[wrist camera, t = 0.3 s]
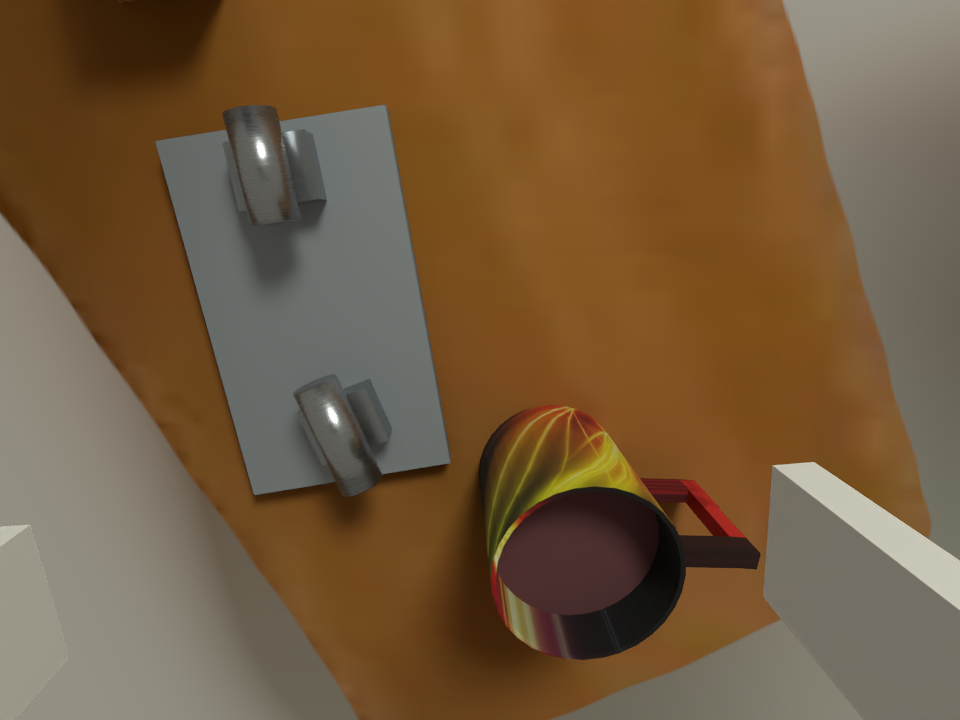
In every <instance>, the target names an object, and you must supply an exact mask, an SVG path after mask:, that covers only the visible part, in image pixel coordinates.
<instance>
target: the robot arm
mask: <svg viewBox="0 0 960 720" xmlns="http://www.w3.org/2000/svg"><path fill="white" fill-rule="evenodd" d="M763 597H764V599H765V600H766V601H767V602H768V604H769V605H770V606H771V607H772V608H773V610H774V611H775V612H776V613H777V615H778V616H779V617H780V618H781V619H782V621H783V622H784V623H785V624H786V626H787V627H788V628H789V629H790V630H791V632H792V633H793V634H794V635H795V637H796V638H797V639H798V640H799V641H800V643H801V644H802V645H803V646H804V648H805V649H806V650H807V651H808V652H809V654H810V655H811V656H812V657H813V658H814V660H815V661H816V662H817V663H818V664H819V666H820V667H821V668H822V669H823V671H824V672H825V673H826V674H827V676H828V677H829V678H830V679H831V680H832V682H833V683H834V684H835V685H836V686H837V688H838V689H839V690H840V691H841V693H842V694H843V695H844V696H845V697H846V699H847V700H848V701H849V702H850V704H851V705H852V706H853V707H854V709H855V710H856V711H857V712H858V713H859V715H860V716H861V717H862V718H863V720H960V561H959V560H958V559H957V558H955V557H954V556H952V555H950V554H949V553H948V552H946V551H945V550H943V549H942V548H940V547H939V546H937V545H935V544H934V543H933V542H931V541H930V540H928V539H927V538H925V537H924V536H923V535H921V534H920V533H918V532H917V531H915V530H914V529H912V528H911V527H909V526H908V525H906V524H905V523H903V522H902V521H900V520H899V519H897V518H896V517H894V516H893V515H891V514H890V513H889V512H887V511H886V510H884V509H883V508H881V507H880V506H878V505H877V504H875V503H874V502H872V501H871V500H869V499H868V498H866V497H865V496H863V495H862V494H860V493H859V492H857V491H856V490H855V489H853V488H852V487H850V486H849V485H847V484H846V483H844V482H843V481H841V480H840V479H838V478H837V477H835V476H834V475H832V474H831V473H829V472H828V471H826V470H825V469H823V468H822V467H821V466H819V465H818V464H816V463H815V462H810V463H797V464H785V465H773V468H772V482H771V496H770V510H769V523H768V537H767V551H766V565H765V579H764V593H763ZM68 658H69V654H68V651H67V647H66V644H65V640H64V637H63V634H62V630H61V627H60V623H59V620H58V616H57V613H56V609H55V606H54V603H53V599H52V596H51V592H50V589H49V585H48V582H47V578H46V575H45V571H44V568H43V565H42V561H41V558H40V554H39V551H38V547H37V544H36V541H35V537H34V534H33V530H32V527H31V525H17V526H5V527H0V720H15V719H16V718H17V717H18V716H19V715H20V713H21V712H22V711H23V710H24V709H25V708H26V706H27V705H28V704H29V703H30V702H31V701H32V699H34V697H35V696H36V695H37V694H38V693H39V692H40V690H41V689H42V688H43V687H44V686H45V685H46V683H47V682H48V681H49V680H50V679H51V678H52V677H53V676H54V674H55V673H56V672H57V671H58V670H59V669H60V668H61V666H62V665H63V664H64V663H65V662H66V661H67V659H68Z"/></svg>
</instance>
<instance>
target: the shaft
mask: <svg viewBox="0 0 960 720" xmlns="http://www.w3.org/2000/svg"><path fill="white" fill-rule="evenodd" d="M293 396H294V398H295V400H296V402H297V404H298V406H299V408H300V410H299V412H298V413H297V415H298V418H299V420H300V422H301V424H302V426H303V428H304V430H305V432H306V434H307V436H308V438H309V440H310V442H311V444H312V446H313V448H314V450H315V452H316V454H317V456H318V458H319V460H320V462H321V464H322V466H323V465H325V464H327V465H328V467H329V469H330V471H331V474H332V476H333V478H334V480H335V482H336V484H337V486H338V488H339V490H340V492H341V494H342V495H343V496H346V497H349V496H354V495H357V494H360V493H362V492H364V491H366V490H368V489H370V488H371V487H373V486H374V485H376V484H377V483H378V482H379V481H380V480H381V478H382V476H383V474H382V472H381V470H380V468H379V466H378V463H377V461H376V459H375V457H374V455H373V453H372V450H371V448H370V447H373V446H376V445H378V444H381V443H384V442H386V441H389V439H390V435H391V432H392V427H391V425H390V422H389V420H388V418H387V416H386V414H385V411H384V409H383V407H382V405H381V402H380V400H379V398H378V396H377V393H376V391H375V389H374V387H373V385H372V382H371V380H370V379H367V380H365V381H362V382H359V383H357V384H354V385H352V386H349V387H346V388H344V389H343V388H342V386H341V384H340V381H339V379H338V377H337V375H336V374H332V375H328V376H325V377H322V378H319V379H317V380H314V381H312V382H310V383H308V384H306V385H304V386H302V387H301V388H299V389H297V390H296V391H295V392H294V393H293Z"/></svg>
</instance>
